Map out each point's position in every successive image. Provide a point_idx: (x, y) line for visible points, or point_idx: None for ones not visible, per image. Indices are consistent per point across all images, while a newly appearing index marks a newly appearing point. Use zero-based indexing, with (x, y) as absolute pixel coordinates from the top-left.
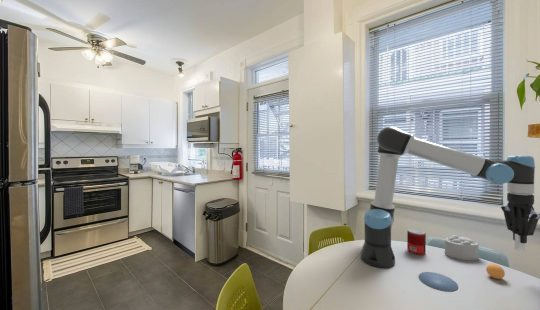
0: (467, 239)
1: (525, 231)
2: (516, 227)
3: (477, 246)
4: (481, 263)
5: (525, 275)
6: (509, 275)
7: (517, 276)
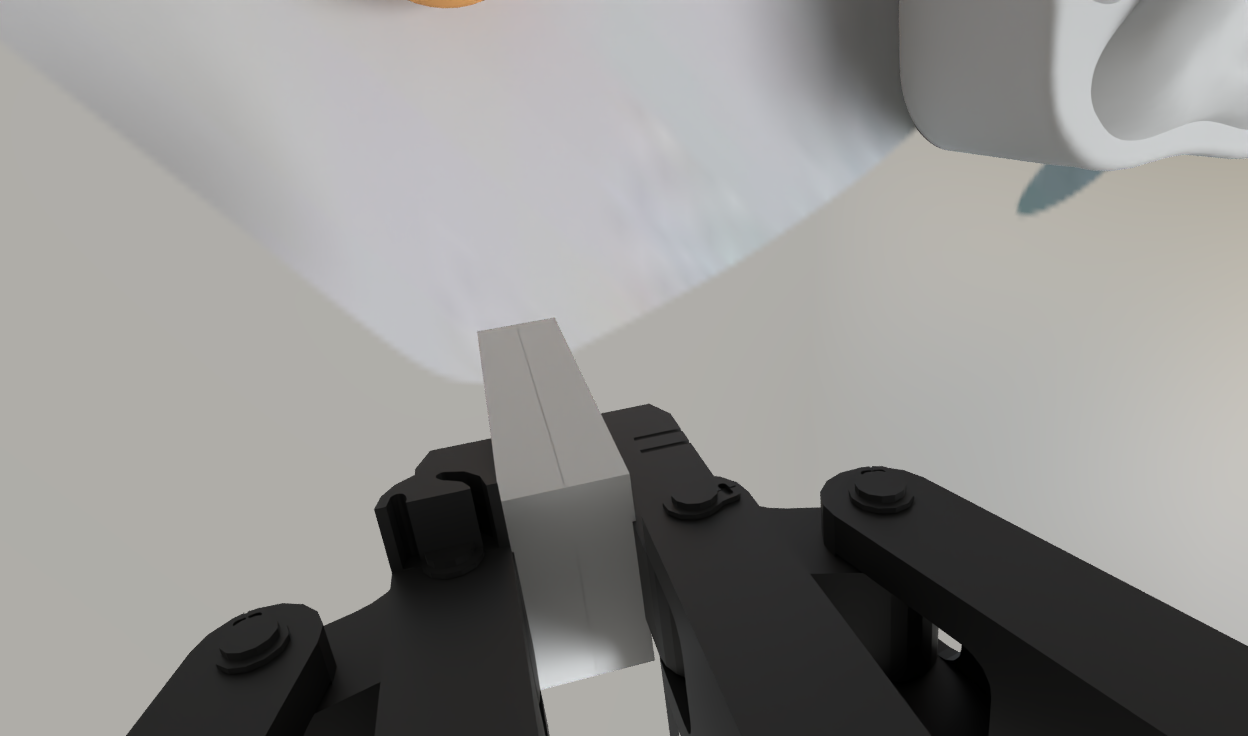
0: (1217, 7)
1: (243, 724)
2: (698, 684)
3: (1031, 107)
4: (803, 62)
5: None
6: (517, 172)
7: (500, 250)
